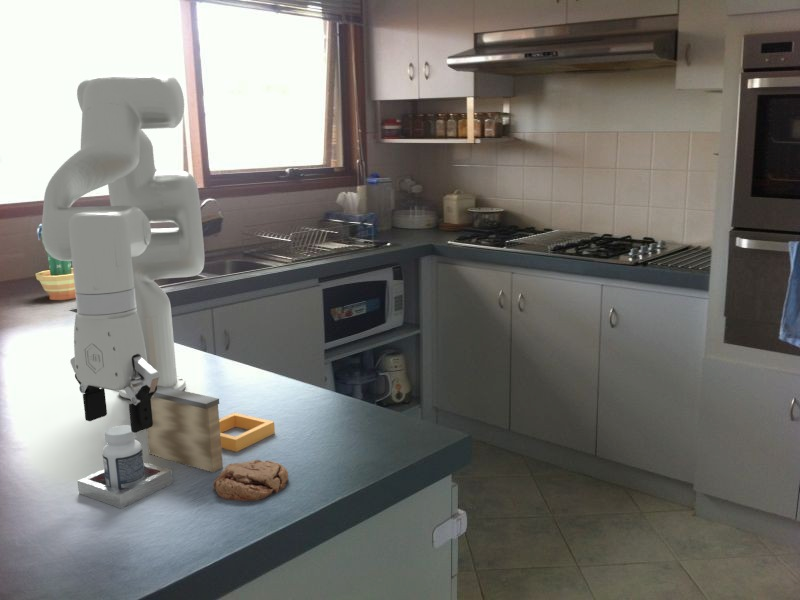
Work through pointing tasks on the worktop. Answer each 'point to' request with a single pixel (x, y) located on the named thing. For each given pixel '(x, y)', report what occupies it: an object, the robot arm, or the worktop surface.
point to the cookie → (250, 480)
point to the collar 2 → (256, 432)
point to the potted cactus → (57, 277)
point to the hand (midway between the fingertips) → (118, 423)
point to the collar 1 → (100, 491)
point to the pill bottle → (122, 458)
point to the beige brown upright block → (185, 428)
